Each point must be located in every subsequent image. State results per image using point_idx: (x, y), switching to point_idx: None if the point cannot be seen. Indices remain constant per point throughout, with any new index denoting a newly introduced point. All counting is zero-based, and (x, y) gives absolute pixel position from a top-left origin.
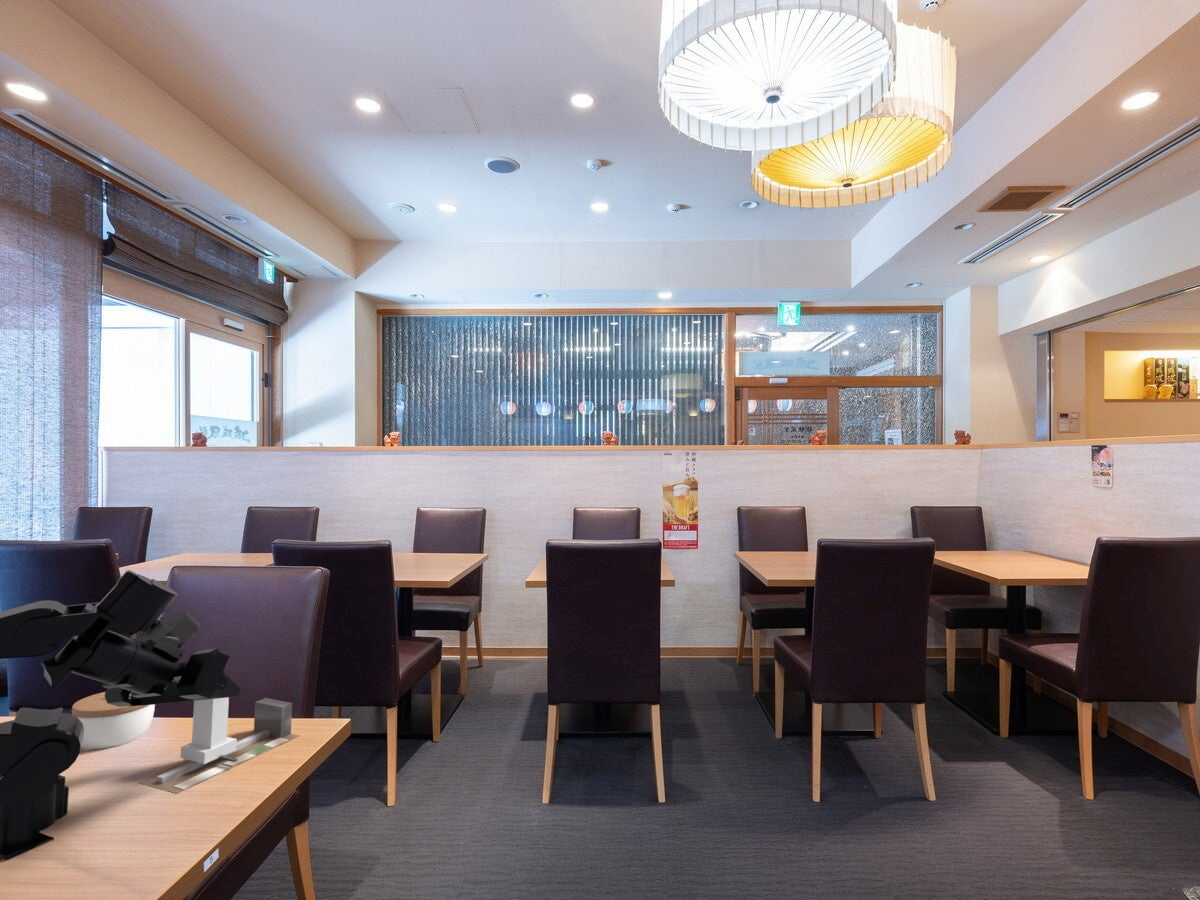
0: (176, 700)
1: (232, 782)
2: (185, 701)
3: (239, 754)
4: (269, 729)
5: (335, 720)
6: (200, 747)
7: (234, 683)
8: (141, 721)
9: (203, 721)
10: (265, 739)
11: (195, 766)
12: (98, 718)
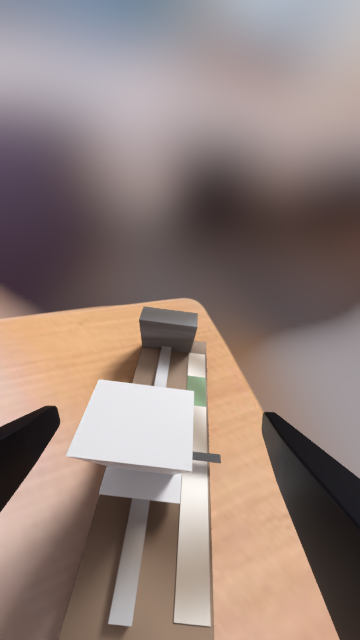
0: (1, 501)
1: (219, 474)
2: (39, 454)
3: None
4: (170, 345)
5: (189, 299)
6: (148, 479)
7: (322, 452)
8: None
9: (143, 469)
10: (173, 359)
11: None
12: None
